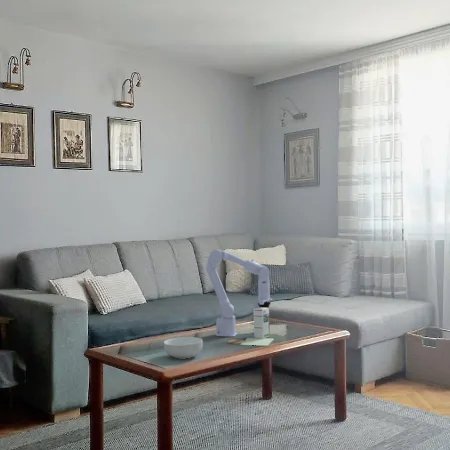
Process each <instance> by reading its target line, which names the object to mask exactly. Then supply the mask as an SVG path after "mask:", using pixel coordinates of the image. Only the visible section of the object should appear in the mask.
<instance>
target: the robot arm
mask: <svg viewBox="0 0 450 450" xmlns="http://www.w3.org/2000/svg"><path fill="white" fill-rule="evenodd" d="M221 261H229V262H233V263H235V264H237V265H240V266H242V267H243V269H244V271H246V272H249V273H251V274H253V275H255V276H256V275H258V281H257V283H258V285H257V286H258V295H257V296H258V299H257V301H258V303H257V305H258V308H261V307H266V308H269V309H270V305H271V302H269V301H273V298H271V295H270V293H271V292H270V291H271V290H270V289H271V288H270V287H271V285H270V284H271V283H270V274H271V273H270V270H269V268H268V267H267V266H266V265H263V264H262V263H258V262H256V261H255V260H254V259H246V260H245V259H243V258H241V257H239V256H238V255H235V254H233V253H231V252H230V251H229V252H228V251H227V250H226V251H225V250H221V249H220V248H214V249H213V250H212V251H211V252H210V253H209V255H208V257H207V264H206V268H205V269H206V272H207V274H208V277H209V280H210V282H211V285H212V286H213V289H214V292H215V294H216V297H217V299H218V302H219V306H220V308H221V316H220V317H217V318H216V322H215V323H216V324H215V327H216V328H215V329H216V331H215V332H216V335H215V337H236V336H237V335H238V332H236V316H235V315H234V314H235V307H234V305H233V304H232V303H231V302H230V299H229V298H228V295H227V293H226V290H225V288H224V285H223V283H222V281H221V278H220V275H219V274H218V272H217V271H218V270H217V267H218V266H219V263H220V262H221Z"/></svg>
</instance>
